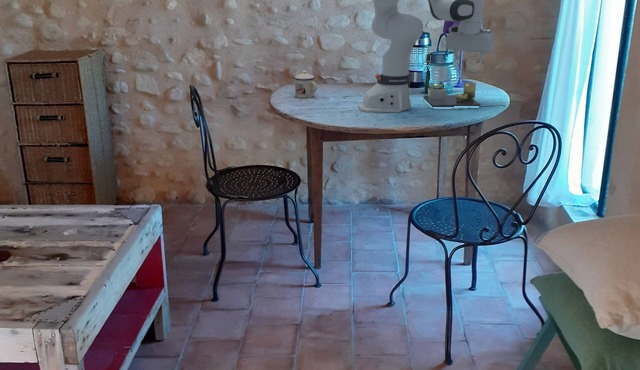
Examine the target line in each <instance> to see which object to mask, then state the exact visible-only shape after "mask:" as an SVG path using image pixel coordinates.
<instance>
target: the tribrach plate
mask: <svg viewBox="0 0 640 370" xmlns="http://www.w3.org/2000/svg"><path fill="white" fill-rule="evenodd" d="M447 90H448V89H447V88H446V87H445V88H444V85H443V84H431V87H428V93H427V95H423V98H424V99H425V100H426V101H427V102H428V103H429V104H430V105H431V106H432V107H454V106H480V107H481V104H480V102H478V101H477V100H475V98H467V100H465V101H460V100H456V95H457V94H450V95H449V94H447Z"/></svg>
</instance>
